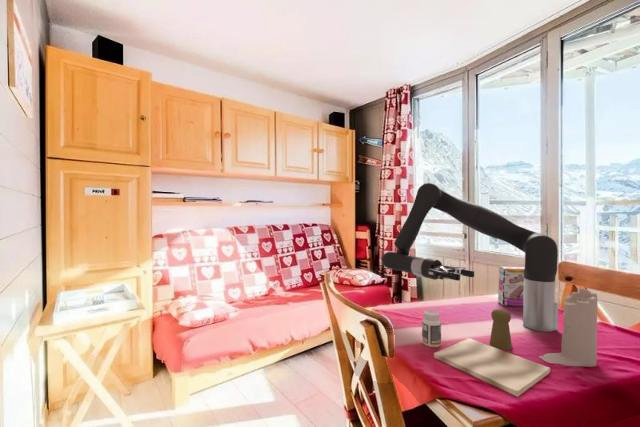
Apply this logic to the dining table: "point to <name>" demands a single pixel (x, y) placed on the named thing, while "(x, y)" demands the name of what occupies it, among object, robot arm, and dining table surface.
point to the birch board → (493, 365)
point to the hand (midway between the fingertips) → (466, 275)
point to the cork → (500, 330)
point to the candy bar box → (511, 286)
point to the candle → (578, 331)
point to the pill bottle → (431, 329)
